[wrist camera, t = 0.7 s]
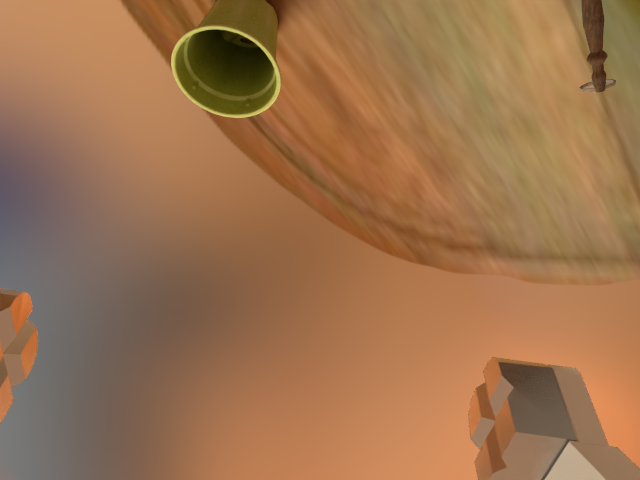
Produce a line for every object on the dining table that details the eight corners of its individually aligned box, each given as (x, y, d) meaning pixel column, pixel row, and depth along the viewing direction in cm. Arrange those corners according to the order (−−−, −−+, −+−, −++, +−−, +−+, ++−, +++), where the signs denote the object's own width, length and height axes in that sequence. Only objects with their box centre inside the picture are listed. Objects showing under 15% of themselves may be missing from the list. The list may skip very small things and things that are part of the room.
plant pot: (298, 64, 61) (283, 122, 55) (205, 58, 61) (182, 114, 56) (293, -27, 53) (276, 29, 48) (188, -32, 54) (159, 22, 49)
